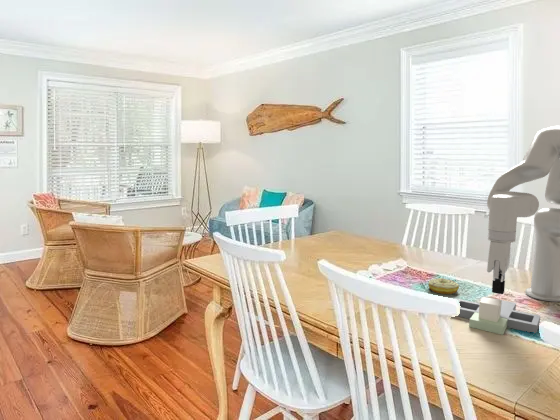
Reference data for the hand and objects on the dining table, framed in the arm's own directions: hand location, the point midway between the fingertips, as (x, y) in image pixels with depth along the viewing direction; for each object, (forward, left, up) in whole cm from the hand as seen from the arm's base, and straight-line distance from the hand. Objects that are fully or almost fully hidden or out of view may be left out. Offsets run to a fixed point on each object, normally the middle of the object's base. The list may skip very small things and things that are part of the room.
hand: (498, 292), depth 134 cm
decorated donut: (-15, -20, -8) cm, 27 cm away
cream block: (+9, 0, -5) cm, 10 cm away
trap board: (+2, 0, -8) cm, 8 cm away
